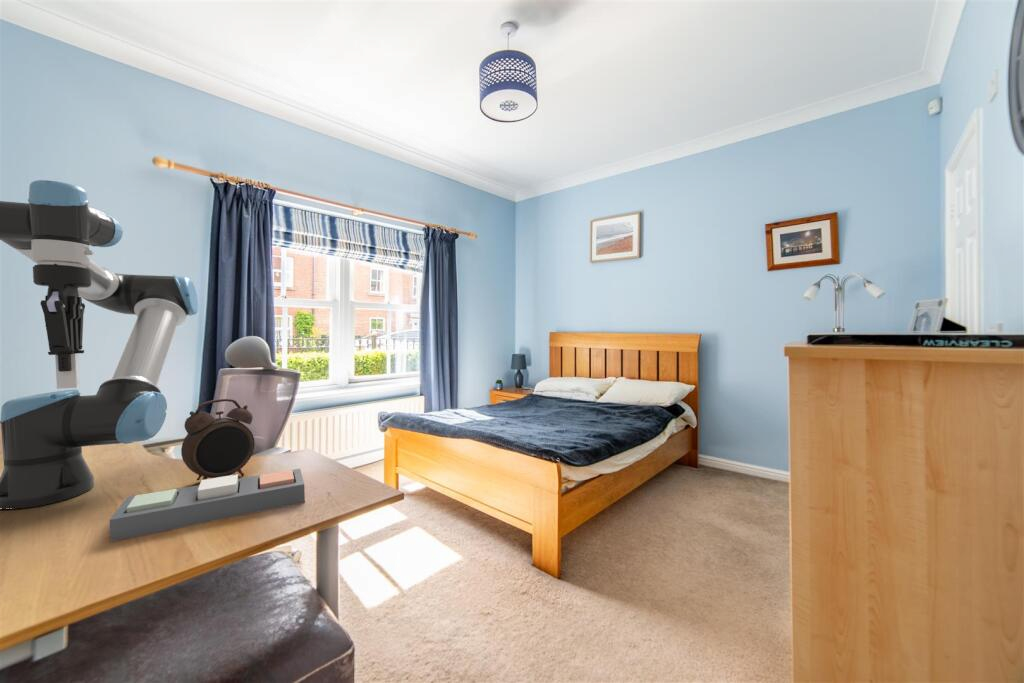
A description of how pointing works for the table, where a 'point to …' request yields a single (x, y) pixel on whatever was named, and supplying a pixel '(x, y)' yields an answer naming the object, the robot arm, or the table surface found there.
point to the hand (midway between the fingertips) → (68, 387)
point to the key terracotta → (276, 479)
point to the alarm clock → (217, 442)
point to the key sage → (152, 500)
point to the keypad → (205, 507)
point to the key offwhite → (218, 487)
